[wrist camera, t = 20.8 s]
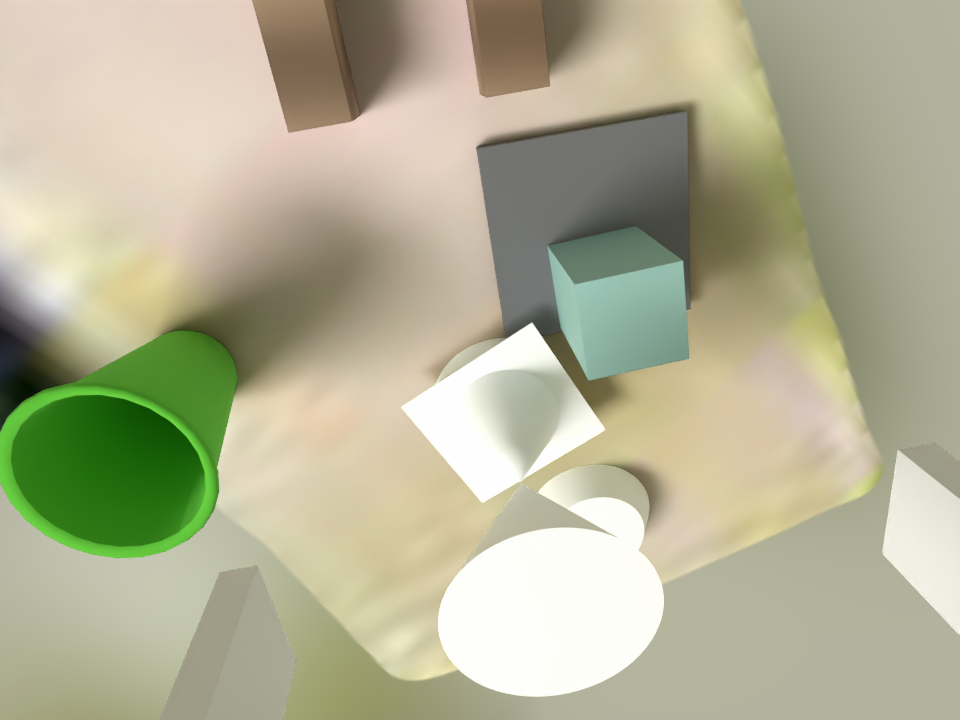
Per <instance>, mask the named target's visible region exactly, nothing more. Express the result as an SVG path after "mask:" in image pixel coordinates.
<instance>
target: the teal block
mask: <svg viewBox="0 0 960 720" xmlns="http://www.w3.org/2000/svg"><path fill="white" fill-rule="evenodd" d="M548 252H549V259H550V265H551V271H552V277H553V284H554V290H555V296H556V303H557V309H558V315H559V321H560V327H561V329H562V331H563V333H564V335H565V337H566V339H567V341H568V343H569V344H570V346H571V348H572V350H573V352H574V354H575V356H576V358H577V360H578V361H579V363H580V365H581V367H582V369H583V371H584V373H585V375H586V377H587V379H588V380H594V379H598V378H603V377H607V376H612V375H617V374H621V373H626V372H630V371H635V370H640V369H644V368H649V367H653V366H658V365H662V364H667V363H672V362H676V361H681V360H685V359H689V345H688V329H687V314H686V299H685V283H684V268H683V260H681V259H680V258H679V257H677V256H676V255H675V254H673V253H672V252H670V251H669V250H668V249H666V248H665V247H664V246H662V245H661V244H660V243H658V242H657V241H656V240H654V239H653V238H651V237H650V236H649V235H647V234H646V233H645V232H643V231H642V230H641V229H639V228H638V227H636V226H634V227H629V228H625V229H620V230H616V231H611V232H607V233H602V234H598V235H593V236H589V237H584V238H580V239H575V240H571V241H566V242H562V243H557V244H552V245H548Z"/></svg>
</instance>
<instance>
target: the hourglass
mask: <svg viewBox="0 0 960 720" xmlns="http://www.w3.org/2000/svg"><path fill="white" fill-rule="evenodd" d="M401 408H402V409H403V410H404V411H405V413H406V414H407V415H408V416H409V417H410V418H411V420H412V421H413V422H414V423H415V424H416V425H417V427H418V428H419V429H420V430H421V431H422V433H423V434H424V435H425V436H426V437H427V438H428V440H429V441H430V442H431V443H432V444H433V445H434V447H435V448H436V449H437V450H438V451H439V452H440V454H441V455H442V456H443V457H444V458H445V460H446V461H447V462H448V463H449V464H450V465H451V467H452V468H453V469H454V470H455V471H456V472H457V474H458V475H459V476H460V477H461V478H462V479H463V481H464V482H465V483H466V484H467V485H468V487H469V488H470V489H471V490H472V491H473V492H474V494H475V495H476V496H477V497H478V498H479V499H480V501H481V502H482V503H483V502H485V501H487V500H488V499H490V498H492V497H493V496H495V495H497V494H498V493H500V492H502V491H503V490H505V489H507V488H508V487H510V486H512V485H513V484H515V483H517V482H520V485H519V486H518V487H517V489H516V490H515V492H514V493H513V495H512V496H511V497H510V499H509V500H508V502H507V503H506V505H505V506H504V507H503V509H502V510H501V512H500V513H499V515H498V516H497V518H496V519H495V520H494V522H493V523H492V525H491V526H490V528H489V529H488V530H487V532H486V533H485V535H484V536H483V538H482V539H481V541H480V542H479V543H478V545H477V546H476V548H475V549H474V551H473V552H472V553H471V555H470V556H469V558H468V559H467V561H466V562H465V564H464V565H463V566H462V568H461V569H460V571H459V572H458V574H457V575H456V576H455V578H454V579H453V581H452V582H451V584H450V585H449V587H448V589H447V591H446V593H445V595H444V597H443V599H442V602H441V606H440V610H439V616H438V630H439V636H440V640H441V643H442V646H443V648H444V650H445V652H446V654H447V656H448V657H449V659H450V660H451V662H452V663H453V664H454V665H455V666H456V667H457V668H458V669H459V670H460V671H461V672H462V673H463V674H465V675H466V676H467V677H469V678H470V679H472V680H473V681H475V682H477V683H479V684H481V685H483V686H485V687H487V688H490V689H493V690H496V691H500V692H503V693H508V694H513V695H520V696H552V695H559V694H565V693H570V692H574V691H578V690H581V689H584V688H588V687H590V686H593V685H595V684H598V683H600V682H602V681H604V680H606V679H608V678H610V677H612V676H613V675H615V674H617V673H618V672H620V671H621V670H622V669H624V668H625V667H627V666H628V665H629V664H630V663H631V662H633V661H634V660H635V659H636V658H637V657H638V656H639V655H640V654H641V653H642V652H643V651H644V649H645V648H646V647H647V646H648V644H649V643H650V641H651V640H652V638H653V637H654V635H655V633H656V631H657V629H658V626H659V624H660V621H661V618H662V613H663V606H664V596H663V588H662V584H661V581H660V578H659V576H658V574H657V572H656V570H655V569H654V567H653V566H652V564H651V563H650V562H649V560H648V559H647V558H646V557H645V556H644V555H643V554H642V553H641V552H640V551H638V549H639V547H640V545H641V543H642V541H643V537H644V533H645V529H646V525H647V521H648V517H649V511H650V504H649V498H648V495H647V492H646V490H645V488H644V487H643V485H642V484H641V482H640V481H639V480H638V479H637V478H636V477H634V476H633V475H632V474H630V473H629V472H627V471H625V470H623V469H620V468H617V467H614V466H609V465H601V464H593V465H584V466H579V467H576V468H572V469H570V470H567V471H565V472H563V473H561V474H559V475H557V476H556V477H554V478H553V479H551V480H550V481H549V482H547V483H546V484H545V485H544V486H543V487H542V488H541V489H540V491H539V492H536V491H534V490H532V489H530V488H529V487H527V486H525V485H523V484H521V482H522V480H523V479H524V478H525V477H527V476H529V475H530V474H532V473H534V472H535V471H537V470H539V469H540V468H542V467H544V466H545V465H547V464H549V463H551V462H552V461H554V460H556V459H557V458H559V457H561V456H562V455H564V454H566V453H567V452H569V451H571V450H572V449H574V448H576V447H577V446H579V445H581V444H583V443H584V442H586V441H588V440H589V439H591V438H593V437H594V436H596V435H598V434H599V433H601V432H603V431H604V430H605V428H604V427H603V425H602V424H601V422H600V421H599V419H598V418H597V416H596V415H595V414H594V412H593V411H592V409H591V408H590V406H589V405H588V403H587V402H586V400H585V399H584V397H583V396H582V395H581V393H580V392H579V390H578V389H577V387H576V386H575V384H574V383H573V381H572V380H571V379H570V377H569V376H568V374H567V373H566V371H565V370H564V368H563V367H562V365H561V364H560V363H559V361H558V360H557V358H556V357H555V355H554V354H553V352H552V351H551V349H550V348H549V346H548V345H547V344H546V342H545V341H544V339H543V338H542V336H541V335H540V333H539V332H538V330H537V329H536V328H535V326H534V325H533V323H530V324H529V325H527V326H526V327H524V328H523V329H521V330H519V331H518V332H516V333H515V334H513V335H512V336H510V337H509V338H507V339H506V338H496V339H490V340H486V341H482V342H479V343H476V344H474V345H472V346H470V347H468V348H466V349H464V350H463V351H461V352H460V353H458V354H457V355H456V356H455V357H454V358H453V359H452V360H451V361H450V362H449V363H448V364H447V365H446V366H445V368H444V369H443V371H442V372H441V374H440V376H439V378H438V380H437V382H436V384H435V385H434V386H432V387H431V388H429V389H428V390H426V391H425V392H423V393H422V394H420V395H418V396H417V397H415V398H414V399H412V400H411V401H409V402H408V403H406V404H404V405H403V406H401Z"/></svg>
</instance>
